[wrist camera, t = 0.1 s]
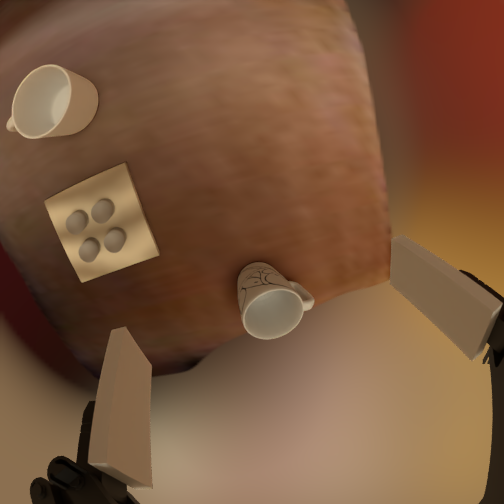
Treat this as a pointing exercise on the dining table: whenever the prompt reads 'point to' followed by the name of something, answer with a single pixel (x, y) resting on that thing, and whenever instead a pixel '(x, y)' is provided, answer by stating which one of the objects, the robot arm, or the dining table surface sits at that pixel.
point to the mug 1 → (52, 103)
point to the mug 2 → (270, 301)
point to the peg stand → (102, 224)
